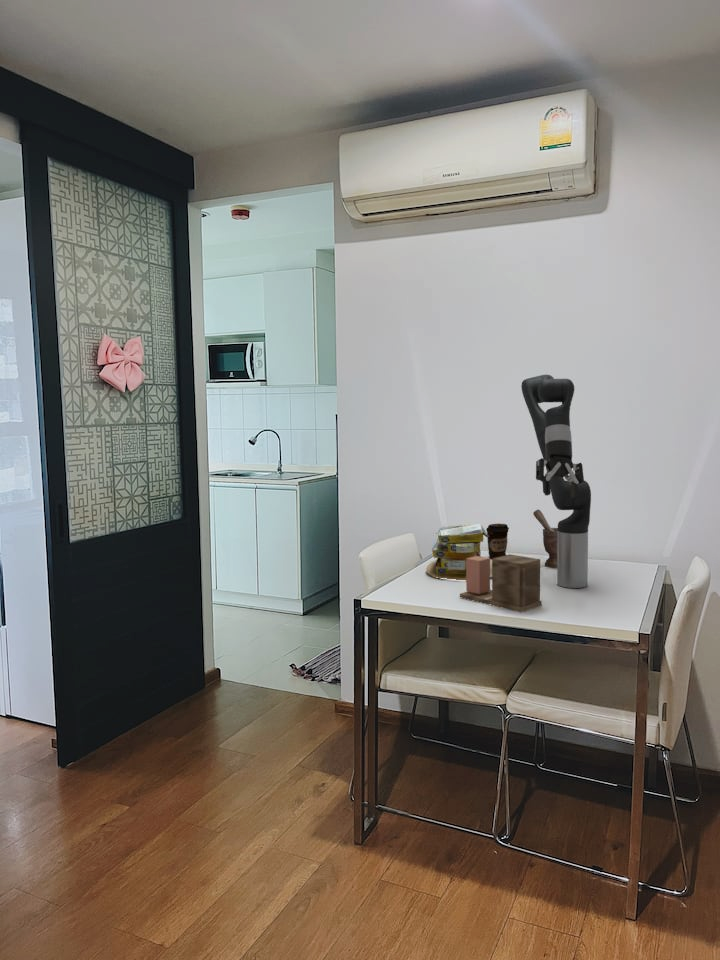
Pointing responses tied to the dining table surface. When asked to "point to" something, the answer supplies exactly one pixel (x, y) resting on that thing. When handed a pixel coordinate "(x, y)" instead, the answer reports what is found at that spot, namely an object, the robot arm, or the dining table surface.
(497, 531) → the coffee cup
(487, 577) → the terracotta plug
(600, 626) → the dining table surface
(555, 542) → the mortar and pestle
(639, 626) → the dining table surface
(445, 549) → the stacked packages on board
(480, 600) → the walnut socket base
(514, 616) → the dining table surface
